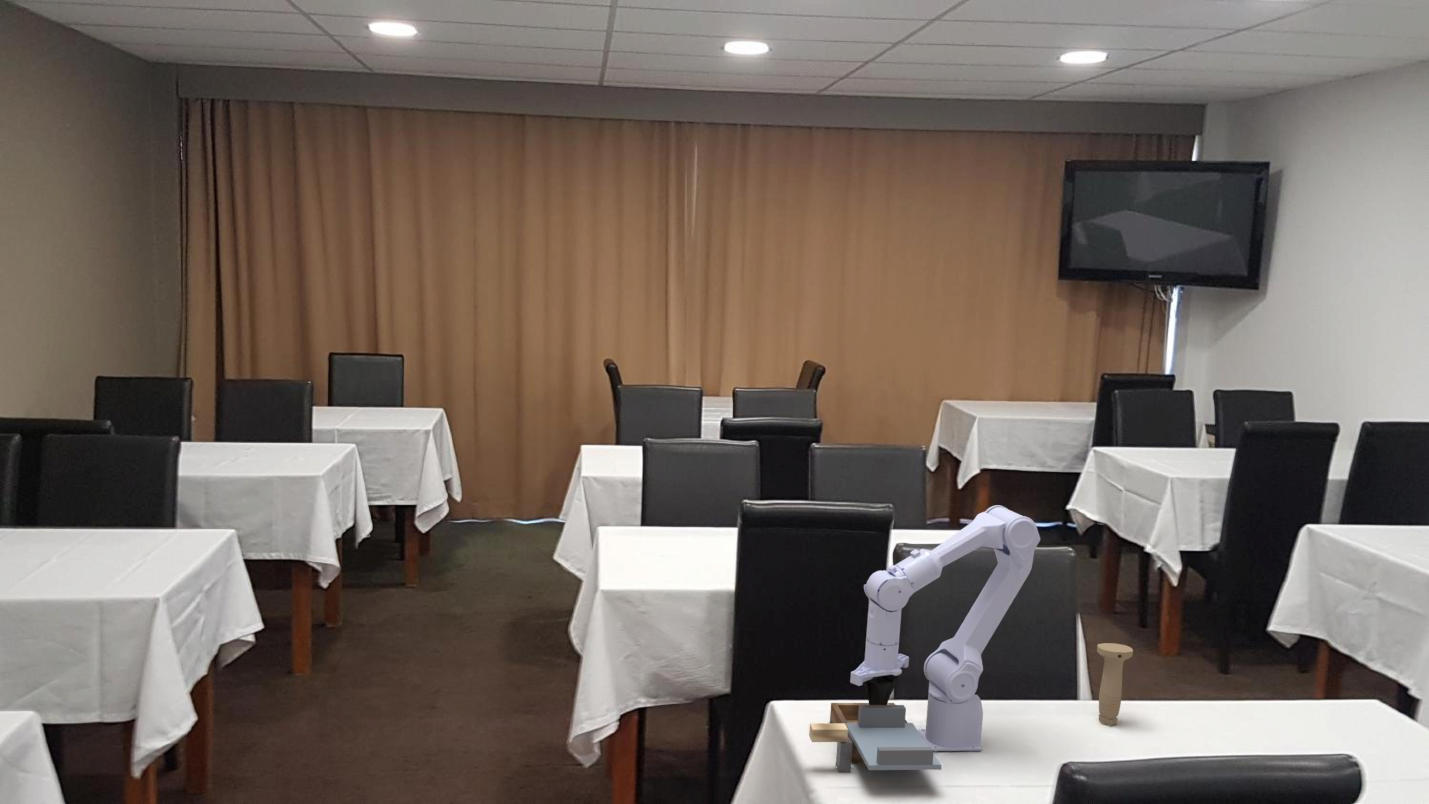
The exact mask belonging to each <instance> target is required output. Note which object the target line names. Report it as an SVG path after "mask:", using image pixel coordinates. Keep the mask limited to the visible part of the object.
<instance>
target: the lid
mask: <svg viewBox="0 0 1429 804" xmlns="http://www.w3.org/2000/svg"><path fill="white" fill-rule="evenodd" d="M906 713H907V708H906V706H905V705H904V704H895V705H859V712H858V723H846V727H847V728H848V733H849V735H850V736H851V738H852V740H853V742H854V744H855V746H856V747H857V749H858V751H859V753H860V755H861V757H862V758H863V760H864V762H865V763H864V764H865V766H866V767H867V769H868V770H869V771H903V770H904V771H907V770H908V771H911V770H912V771H915V770H916V771H918V770H920V771H921V770H922V771H925V770H926V771H928V770H930V771H931V770H932V771H933V770H934V771H935V770H936V771H937V770H942V763H941V762H940V760H939V759H938V757H937V756H936V754H935V753H934V752H935V751H934V750H933V749H932V747H929V746H928V745H927V743H926V742H925V740H924V739H923V738H922V736H921V735H920V733H919V732H918V730H919V729H917V727H916V726H915V725H914V724H913V722H908V723H905V720H906V715H907V714H906Z"/></svg>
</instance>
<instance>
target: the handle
mask: <svg viewBox="0 0 1429 804" xmlns="http://www.w3.org/2000/svg"><path fill="white" fill-rule="evenodd" d="M1096 647H1097V648H1096V653H1098V655H1100V656H1101V657H1102V658H1103V660H1104V662H1103V663H1104V664H1103V668H1102V669H1103V670H1102V675H1101V682H1100V688H1099V694H1098V713H1099V714H1098V721H1099V722H1100V723H1101V724H1102V725H1106V726H1109V727H1111V726H1115V725H1117V723H1118V719H1119V718H1118V716H1119V713H1120V709H1121V703H1122V693H1123V670H1124V669H1123V668H1124V667H1123V666H1124V662H1125V661H1126V660H1129V659H1131V658H1133V654H1134V649H1133V648H1132V647H1131V646H1128V645H1126V644H1121V643H1120V644H1119V643H1112V642H1109V643H1108V642H1106V643H1105V642H1104V643H1097V646H1096ZM1114 724H1115V725H1114Z"/></svg>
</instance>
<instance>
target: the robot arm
mask: <svg viewBox="0 0 1429 804" xmlns="http://www.w3.org/2000/svg"><path fill="white" fill-rule="evenodd" d="M1040 541H1041V536H1040V534H1039V531H1038V527H1037V524H1036V523H1035V521H1034V520H1033V519H1032V518H1030V517H1028V516H1025V515H1024V516H1023V515H1021V514H1019V513H1018V512H1015V511H1013V510H1010V509H1008V508H1007V507H1005V506H1003V505H1000V504H998V505H997V504H996V505H992V506H989V507H988V508H986V510H985V511H983V512H980V513H978V514H977V515H976V516H975V518H973V520H972V521H971V522H970V523H969V524H967V525H966V526H964V527H963V528H962V529H960V530H959V531H957V532H956V533H955V534H953V535H952V536H950V537H949V538H947V539H946V540H945V541H943V542H941V543H940V544H939V545H937V546H936V547H934V548H933V549H932V550H931V549H926V548H921V549H920V550H918V549H917V548H915V549H913V550H912V551H910V553H909V554H910V555H909V556H907V557H906V558H905V559H902V560H901V561H899V562H897V563H896V564H895V565H893V564H891V565H890V566H889V565H888V567H887V570H885V569H883V570H882V569H881V570H877V571H875V572H873V573H872V574H871V575H870V576H869V578H868V579H867V581H866V584H863V590H864V593H865V595H866V597H867V598H868V610H867V611H868V612H867V621H866V622H867V625H866V637H865V651H864V660H863V661H862V663H860V664H859V666H858V667H857V668H856V669H855V670H853V671H850V677H849V678H850V680H849V682H850V684H853V685H856V686H858V687H860V686H863V688H864V689H865V693H866V696H867V701H868V703H869V705H887V703H889V700H890V698H891V695H892V693H893V691H894V689H895V688H896V686H897V685H898V684H899V682H900V675H901V674H902V672H903V670H902V669H901V668H903V669H907V668H909V664H910V663H909V662H910V657H909V656H907V655H905V654H903V653H899V648H900V647H899V646H900V634H901V633H900V632H901V623H902V622H901V621H902V620H901V619H902V609H903V608H904V607H905V606H906V605H907V603H908V602H909V599H910V597H912V596H913V594H914V593H917V592H918V591H919V590H921V589H923V588H924V587H925V586H927V585H929V584H930V583H932V582H934V581H935V580H937V579H939V578H940V577H941V575H942V571H943V567H945V566H948V565H950V564H951V563H953V562H955V561H957V560H958V559H960V558H962V557H964V556H965V555H966V556H967V555H968V554H970V553H971V552H974V551H976V550H977V549H979V548H982V547H983V548H989V549H990V548H993V551H994V553H995V557H996V561H997V564H996V566H995V568H994V570H993V571H992V573H991V574H990V576H989V578H988V579H987V581H986V583H985V585H984V586H983V588H982V590H981V592H980V593H979V595H978V597H977V598H976V600H975V602H974V603H973V604H972V606H971V608H970V610H969V612H967V614H966V616H965V618H964V620H963V622H962V623H961V624H960V627H959V628H958V630H957V632H956V633H955V635H953V637H952V638H949V639H946V640H944V641H942V642H941V643H940V645H939V647H938V648H937V649H936V650H935V651H934V652H932V653H930V654H929V656H928V657H927V658H926V659H925V661H924V665H923V672H924V673H923V674H924V675H925V678H926V679H927V680H928V696H927V697H928V698H927V707H926V708H927V709H926V720H925V721H926V722H925V728H924V729H922V728H921V729H917V730H918V732H919V733H920V735H921V736H922V738H923V739H924V740H925V742H926V743H927V745H928V746H929V747H932V749H933V750H934V752H944V751H945V752H954V751H955V752H959V751H960V752H961V751H963V752H967V751H968V752H969V751H975V752H977V751H982V749H983V748H982V746H981V742H982V730H983V719H984V716H983V715H984V710H983V704H982V700H981V698H980V697H979V695H978V694H975V693H976V692H977V689H978V688H979V687H978V685H979V679H980V677H981V675H982V673H983V671H984V665H983V660H982V654H983V651H984V650H985V648H986V647H987V645H988V644H989V641H990V640H991V638H993V637H992V636H993V635H994V634H995V632H996V630H997V628H998V626H999V625H1000V623H1001V622H1002V620H1003V618H1004V617H1005V615H1006V613H1007V611H1008V610H1009V608H1010V607H1011V605H1012V603H1013V601H1014V599H1015V598H1016V596H1017V595H1018V593H1019V591H1020V590H1021V588H1022V587H1023V586H1024V585H1023V584H1025V583H1024V582H1026V580H1027V578H1028V576H1029V575H1030V573H1031V570H1032V568H1033V562H1034V555H1035V550H1036V548H1037V546H1038V545H1039V543H1040Z"/></svg>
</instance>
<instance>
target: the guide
mask: <svg viewBox="0 0 1429 804" xmlns="http://www.w3.org/2000/svg"><path fill="white" fill-rule="evenodd" d="M836 744H837V745H836V756H835V759H836V760H835V767H837V768H836V770H837V771H838V773H841V774H842V773H844V774H845V773H849V774H851V772H852V763H851V759H852V745H853V743H852V741H851V739H850V737H848V738H847V742H836Z"/></svg>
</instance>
